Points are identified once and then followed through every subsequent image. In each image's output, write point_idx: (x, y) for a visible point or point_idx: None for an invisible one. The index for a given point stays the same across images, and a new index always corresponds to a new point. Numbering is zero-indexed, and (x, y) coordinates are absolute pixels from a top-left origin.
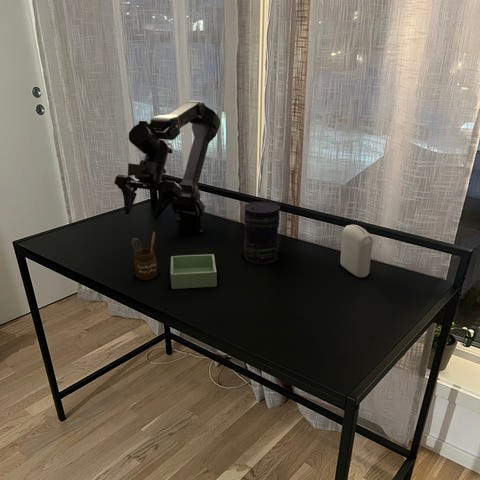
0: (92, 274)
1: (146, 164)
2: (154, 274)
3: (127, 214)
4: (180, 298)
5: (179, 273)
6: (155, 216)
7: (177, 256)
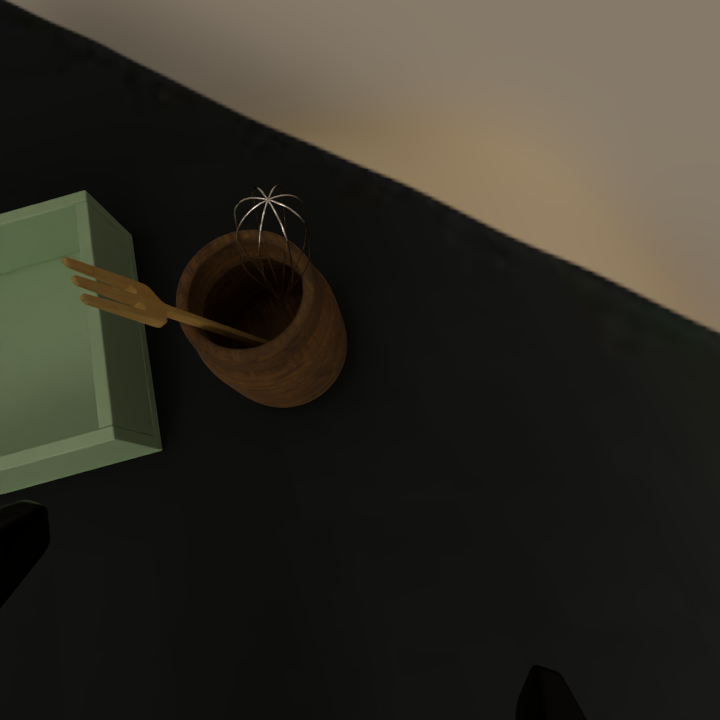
0: (612, 321)
1: None
2: (229, 318)
3: (523, 691)
4: (82, 164)
5: (37, 208)
6: (5, 509)
7: (69, 439)
